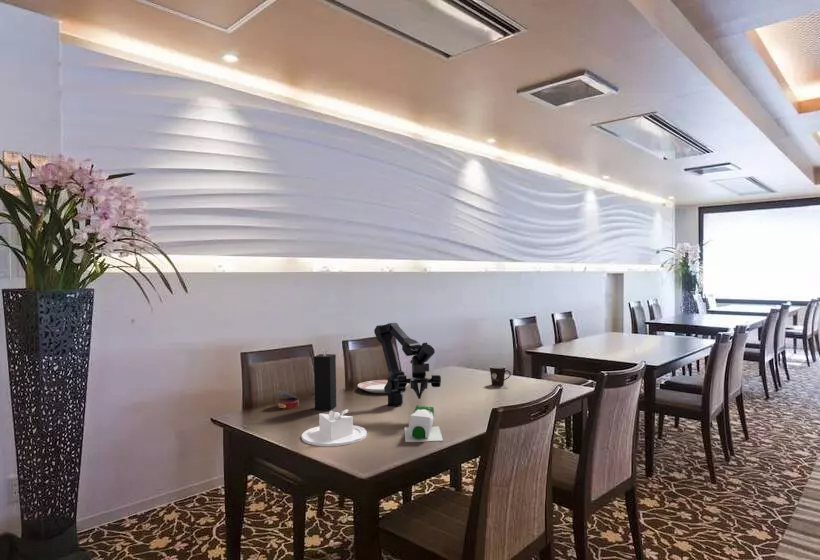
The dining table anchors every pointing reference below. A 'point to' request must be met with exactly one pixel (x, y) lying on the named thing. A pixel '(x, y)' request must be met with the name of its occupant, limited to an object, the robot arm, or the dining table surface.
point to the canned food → (287, 400)
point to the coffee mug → (498, 375)
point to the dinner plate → (374, 386)
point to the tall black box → (325, 381)
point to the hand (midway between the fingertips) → (419, 398)
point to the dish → (334, 430)
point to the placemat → (434, 436)
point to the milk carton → (421, 422)
